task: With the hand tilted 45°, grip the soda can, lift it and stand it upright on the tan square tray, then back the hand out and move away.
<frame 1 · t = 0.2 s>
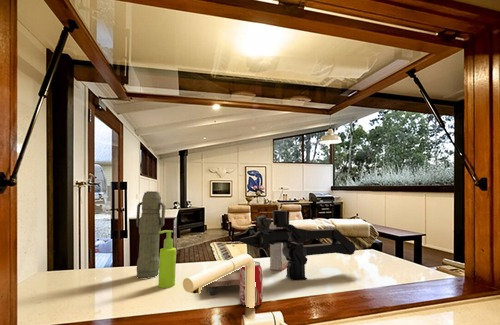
hand: (236, 238, 105), 17 cm above the counter, tool horizontal, fingers open, 9 cm apart
soda can: (250, 304, 83), on the counter
soap dispenser: (165, 286, 100), on the counter
thermos: (147, 276, 113), on the counter
tan square tray: (226, 281, 98), point 2 cm above the counter, slide at 0.0 cm
cracker box: (280, 267, 128), on the counter
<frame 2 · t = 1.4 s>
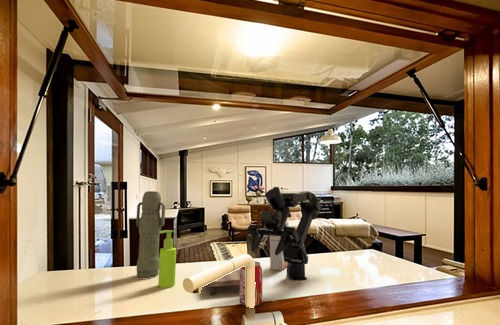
hand: (263, 253, 91), 14 cm above the counter, tool tilted 45°, fingers open, 9 cm apart
nothing on the counter moved.
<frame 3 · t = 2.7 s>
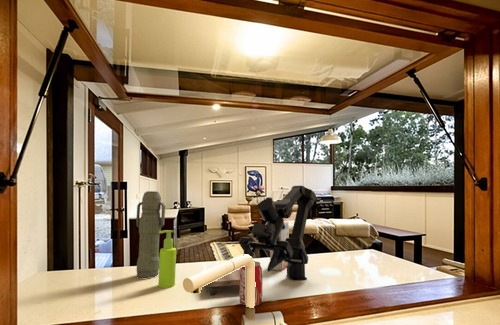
hand: (255, 268, 86), 10 cm above the counter, tool tilted 45°, fingers open, 9 cm apart
nothing on the counter moved.
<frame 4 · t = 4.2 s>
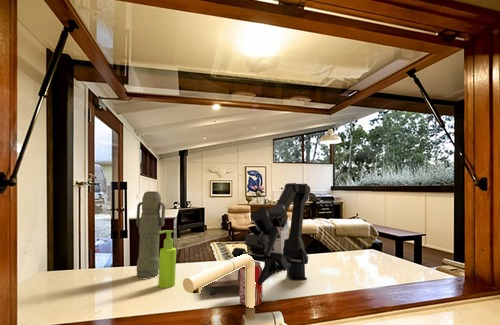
hand: (248, 282, 82), 7 cm above the counter, tool tilted 45°, fingers closed on soda can, 7 cm apart
soda can: (250, 304, 83), on the counter, touching gripper
everything else where it was.
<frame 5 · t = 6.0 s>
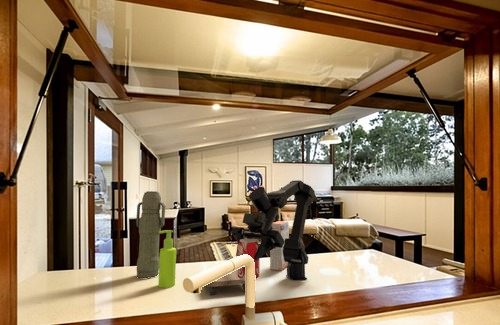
hand: (245, 258, 86), 13 cm above the counter, tool tilted 45°, fingers closed on soda can, 7 cm apart
soda can: (248, 279, 86), point 6 cm above the counter, touching gripper
everything else where it was.
when the fingers open (12 cm above the counter, at t = 8.1 s): soda can stays where it is, resting on tan square tray.
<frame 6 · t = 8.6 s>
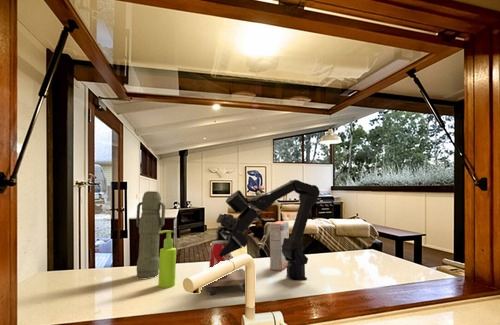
hand: (215, 253, 97), 12 cm above the counter, tool tilted 45°, fingers open, 9 cm apart
soda can: (219, 276, 97), point 4 cm above the counter, touching tan square tray
tan square tray: (226, 281, 98), point 2 cm above the counter, slide at 0.0 cm, touching soda can
everything else where it was.
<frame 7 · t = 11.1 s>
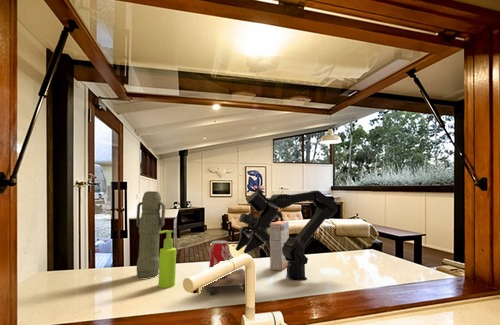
hand: (240, 251, 102), 12 cm above the counter, tool tilted 40°, fingers open, 9 cm apart
nothing on the counter moved.
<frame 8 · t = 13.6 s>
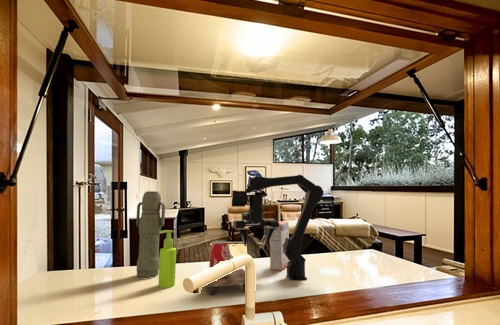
hand: (256, 245, 111), 13 cm above the counter, tool pointing down, fingers open, 9 cm apart
nothing on the counter moved.
at the end: soda can inside the target area on the tan square tray (1.1 cm from its centre), point 4.3 cm above the tan square tray's base; soda can tilted 0°; the gripper is holding nothing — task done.
